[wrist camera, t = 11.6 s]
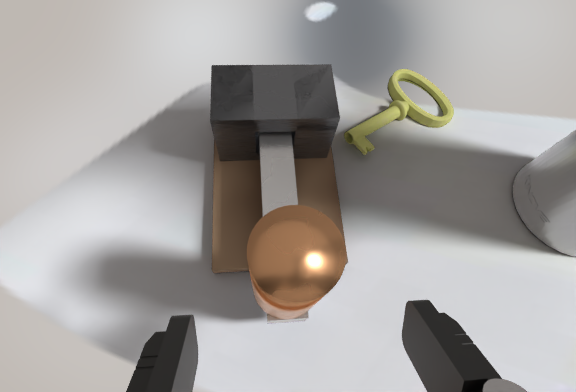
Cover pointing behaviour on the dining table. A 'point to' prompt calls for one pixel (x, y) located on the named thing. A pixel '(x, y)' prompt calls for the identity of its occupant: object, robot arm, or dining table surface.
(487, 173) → the dining table surface
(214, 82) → the block
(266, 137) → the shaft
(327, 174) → the base board
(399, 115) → the key
